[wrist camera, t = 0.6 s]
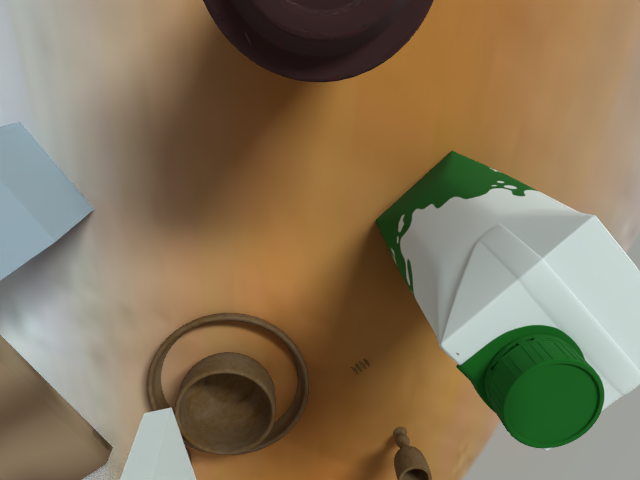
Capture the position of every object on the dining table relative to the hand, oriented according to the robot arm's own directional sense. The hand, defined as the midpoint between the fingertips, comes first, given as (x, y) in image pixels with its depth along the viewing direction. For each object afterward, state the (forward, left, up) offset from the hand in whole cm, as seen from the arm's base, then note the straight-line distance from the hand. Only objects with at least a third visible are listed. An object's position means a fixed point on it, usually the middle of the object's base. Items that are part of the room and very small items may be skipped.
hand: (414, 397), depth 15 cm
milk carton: (+6, +6, -25) cm, 26 cm away
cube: (-12, -17, -24) cm, 32 cm away
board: (-1, -29, -24) cm, 38 cm away
